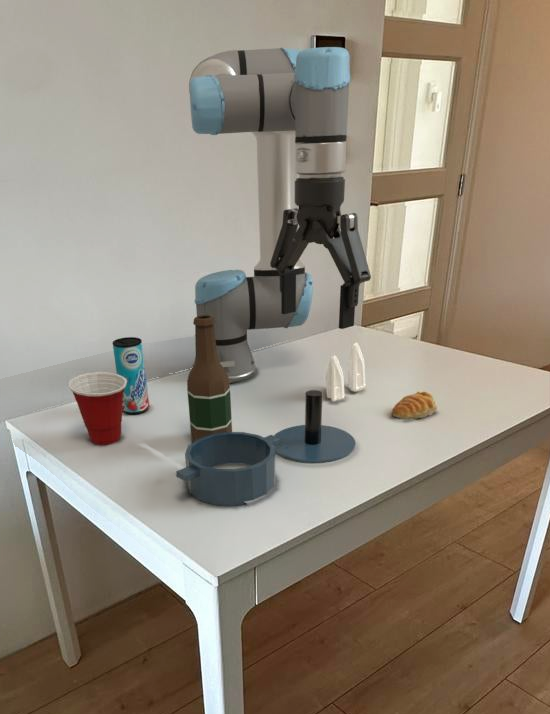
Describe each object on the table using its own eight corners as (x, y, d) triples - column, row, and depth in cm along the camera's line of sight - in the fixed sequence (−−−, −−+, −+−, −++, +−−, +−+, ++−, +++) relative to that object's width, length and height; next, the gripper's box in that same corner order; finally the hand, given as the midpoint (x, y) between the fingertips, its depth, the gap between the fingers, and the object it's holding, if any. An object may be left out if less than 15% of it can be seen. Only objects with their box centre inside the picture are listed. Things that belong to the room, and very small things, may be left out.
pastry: (409, 425, 124) (411, 407, 122) (382, 416, 129) (384, 398, 127) (438, 412, 129) (441, 394, 127) (412, 403, 134) (414, 386, 132)
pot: (158, 487, 106) (154, 454, 103) (249, 452, 117) (248, 420, 114) (209, 522, 97) (207, 486, 93) (304, 480, 107) (305, 446, 104)
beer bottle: (191, 436, 123) (181, 312, 111) (231, 434, 124) (225, 309, 111) (192, 454, 117) (181, 324, 104) (234, 451, 117) (228, 321, 105)
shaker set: (357, 385, 144) (360, 337, 138) (371, 390, 141) (375, 341, 136) (320, 398, 138) (321, 349, 132) (334, 404, 135) (336, 353, 129)
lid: (253, 446, 119) (252, 392, 113) (313, 423, 127) (314, 372, 122) (311, 474, 108) (313, 417, 103) (372, 447, 116) (377, 393, 111)
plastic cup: (108, 455, 118) (99, 394, 111) (67, 444, 123) (55, 385, 116) (145, 434, 125) (138, 376, 119) (105, 424, 130) (96, 367, 124)
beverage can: (125, 417, 133) (115, 347, 125) (119, 407, 138) (109, 339, 130) (152, 412, 135) (144, 343, 127) (145, 403, 140) (137, 335, 132)
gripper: (247, 175, 101) (251, 311, 112) (366, 179, 84) (356, 338, 95) (282, 172, 105) (282, 303, 116) (402, 175, 88) (389, 329, 99)
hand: (316, 319), depth 105 cm, fingers open, 13 cm apart
